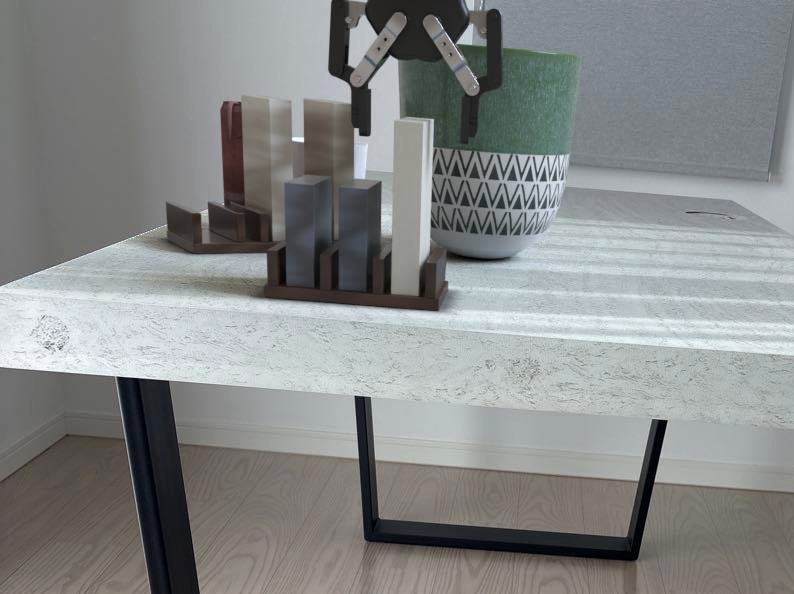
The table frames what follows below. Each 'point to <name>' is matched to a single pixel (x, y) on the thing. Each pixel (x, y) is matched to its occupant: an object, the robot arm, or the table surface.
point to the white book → (411, 204)
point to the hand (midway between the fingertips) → (415, 139)
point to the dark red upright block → (232, 152)
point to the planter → (496, 148)
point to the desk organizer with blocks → (342, 250)
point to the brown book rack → (270, 176)
